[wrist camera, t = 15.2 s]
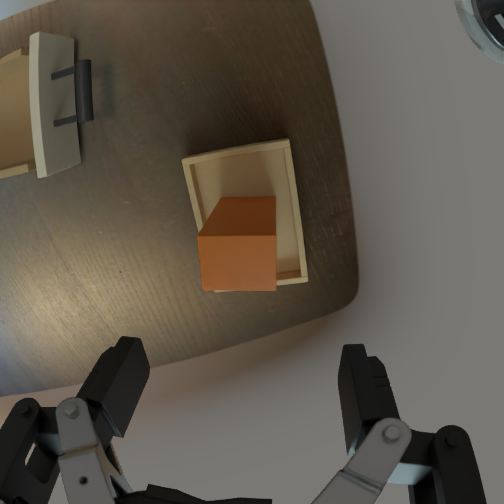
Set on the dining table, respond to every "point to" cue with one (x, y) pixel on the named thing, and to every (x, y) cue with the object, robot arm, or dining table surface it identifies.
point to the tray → (253, 194)
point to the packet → (239, 245)
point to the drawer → (42, 106)
